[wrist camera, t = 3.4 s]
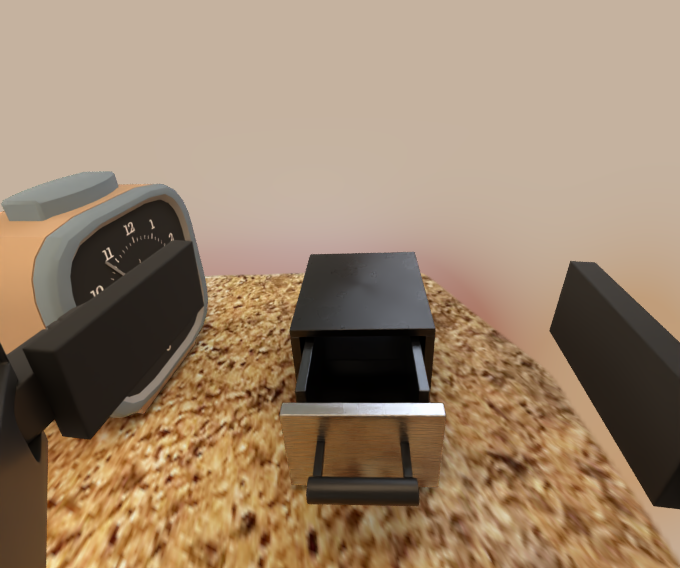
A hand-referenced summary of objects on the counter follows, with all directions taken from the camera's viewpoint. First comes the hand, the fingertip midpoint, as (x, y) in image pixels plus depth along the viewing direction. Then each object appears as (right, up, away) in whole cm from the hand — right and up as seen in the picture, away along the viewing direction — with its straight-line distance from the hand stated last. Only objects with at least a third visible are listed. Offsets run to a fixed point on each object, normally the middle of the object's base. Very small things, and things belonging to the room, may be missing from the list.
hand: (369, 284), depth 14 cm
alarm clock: (-24, -10, +31) cm, 40 cm away
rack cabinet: (+2, -8, +31) cm, 32 cm away
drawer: (+1, -13, +21) cm, 25 cm away
